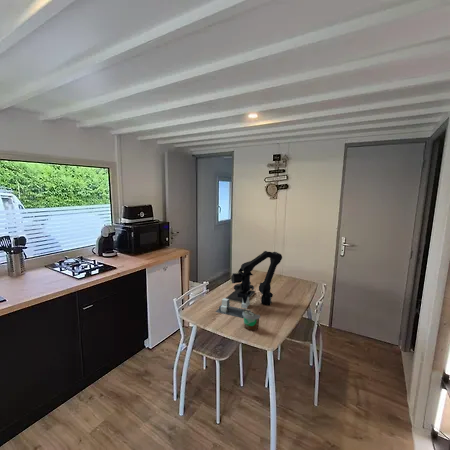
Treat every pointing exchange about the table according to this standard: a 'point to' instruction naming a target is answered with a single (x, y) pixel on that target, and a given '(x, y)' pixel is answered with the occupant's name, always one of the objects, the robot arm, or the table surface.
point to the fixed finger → (225, 304)
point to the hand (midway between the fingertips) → (245, 302)
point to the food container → (250, 320)
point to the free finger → (245, 305)
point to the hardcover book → (238, 299)
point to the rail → (232, 311)
